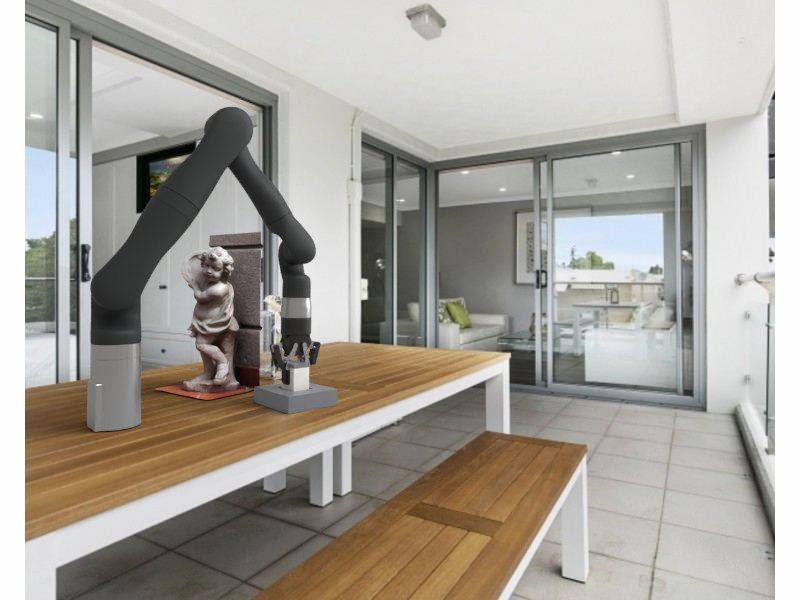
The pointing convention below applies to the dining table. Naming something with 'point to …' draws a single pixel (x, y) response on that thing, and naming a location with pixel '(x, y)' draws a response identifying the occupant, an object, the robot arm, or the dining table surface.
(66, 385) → the dining table surface
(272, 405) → the grey square socket
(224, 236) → the cherub statue
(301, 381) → the plug
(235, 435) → the dining table surface
